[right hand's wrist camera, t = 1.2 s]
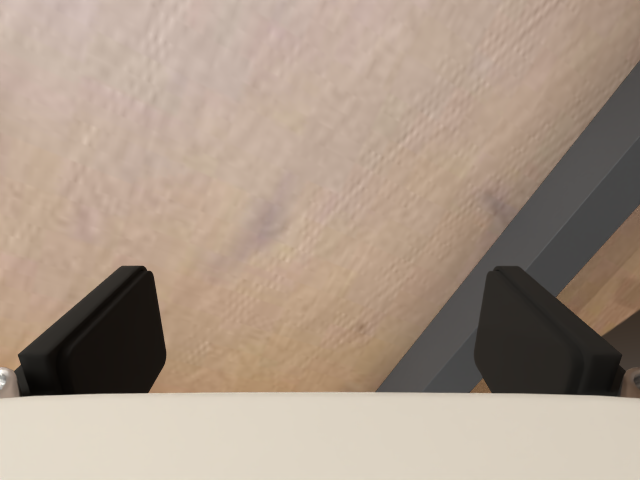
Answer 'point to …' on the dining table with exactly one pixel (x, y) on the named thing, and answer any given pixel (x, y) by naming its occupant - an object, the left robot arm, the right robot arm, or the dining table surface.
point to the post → (539, 241)
